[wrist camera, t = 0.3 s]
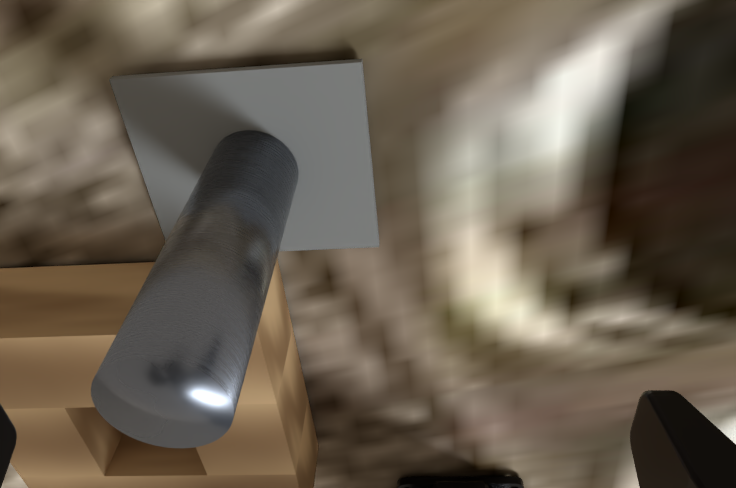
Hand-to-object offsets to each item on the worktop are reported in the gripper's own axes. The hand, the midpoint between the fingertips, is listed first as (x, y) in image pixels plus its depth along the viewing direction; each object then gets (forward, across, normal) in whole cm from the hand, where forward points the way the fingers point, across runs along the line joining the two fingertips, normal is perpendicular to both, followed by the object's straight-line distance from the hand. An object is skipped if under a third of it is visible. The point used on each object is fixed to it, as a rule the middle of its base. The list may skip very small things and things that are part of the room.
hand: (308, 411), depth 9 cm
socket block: (+13, +10, +13) cm, 21 cm away
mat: (+13, +4, +3) cm, 14 cm away
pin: (+13, +4, +3) cm, 14 cm away
